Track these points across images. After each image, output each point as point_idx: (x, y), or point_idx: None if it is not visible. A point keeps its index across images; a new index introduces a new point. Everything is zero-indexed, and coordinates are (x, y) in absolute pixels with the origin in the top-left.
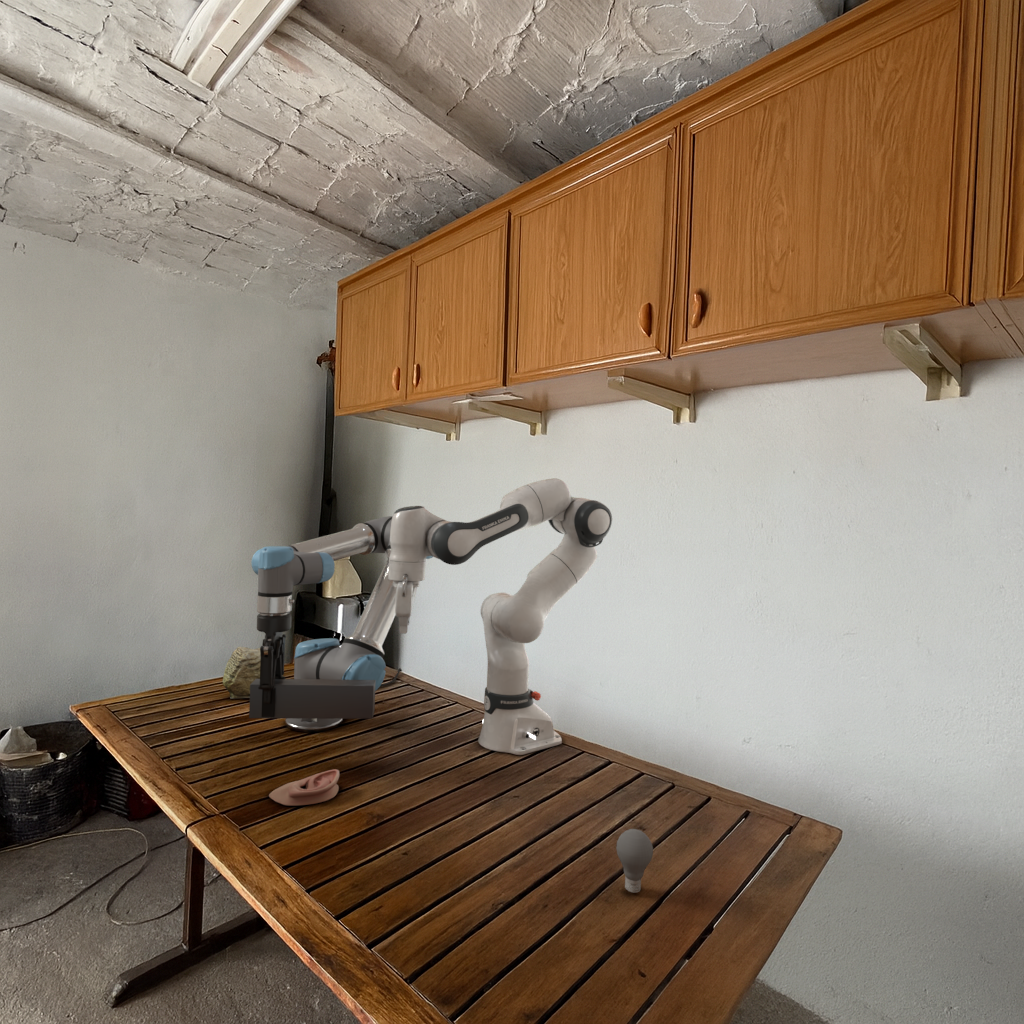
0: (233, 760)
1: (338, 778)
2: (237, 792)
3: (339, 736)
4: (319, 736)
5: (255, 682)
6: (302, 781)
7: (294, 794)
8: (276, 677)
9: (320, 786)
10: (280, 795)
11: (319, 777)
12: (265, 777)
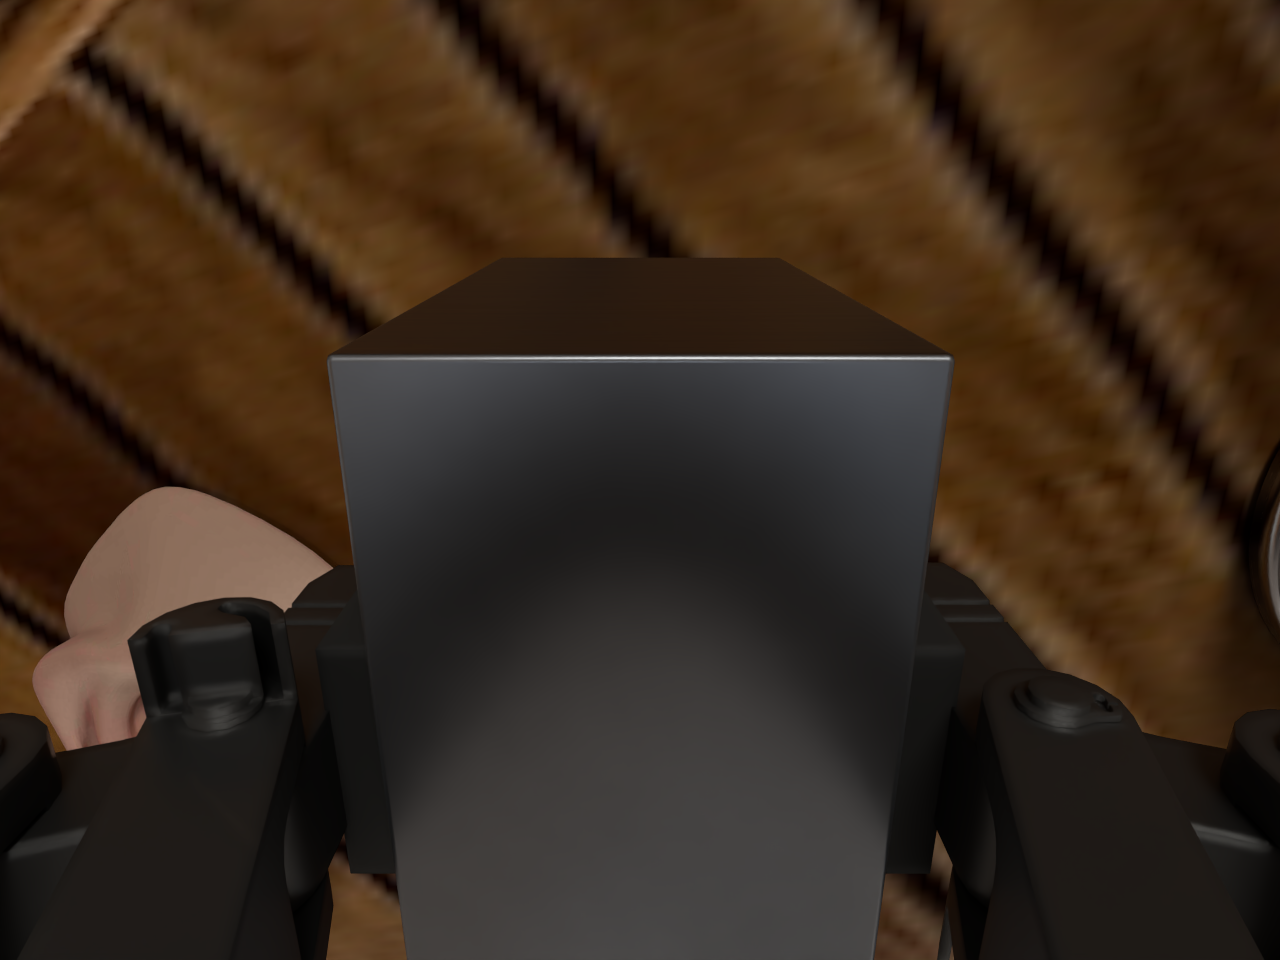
0: (747, 45)
1: None
2: (198, 265)
3: (1127, 708)
4: (1156, 586)
5: (543, 451)
6: None
7: (33, 682)
8: (974, 854)
9: None
10: (109, 573)
11: None
12: None
